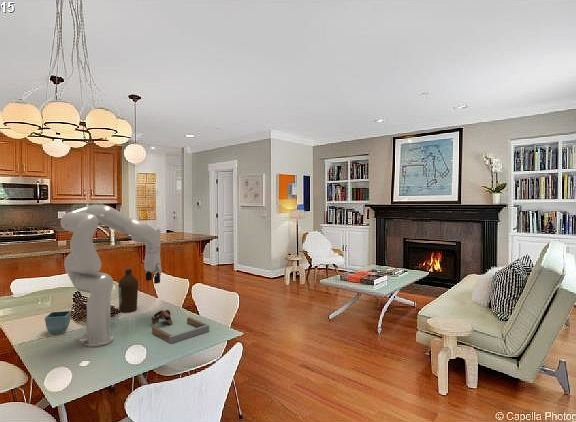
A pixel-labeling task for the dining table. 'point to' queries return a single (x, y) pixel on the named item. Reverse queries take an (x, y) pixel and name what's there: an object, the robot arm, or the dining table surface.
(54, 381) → the dining table surface
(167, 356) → the dining table surface
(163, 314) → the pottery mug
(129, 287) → the olive oil
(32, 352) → the dining table surface
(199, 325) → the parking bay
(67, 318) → the flower pot
